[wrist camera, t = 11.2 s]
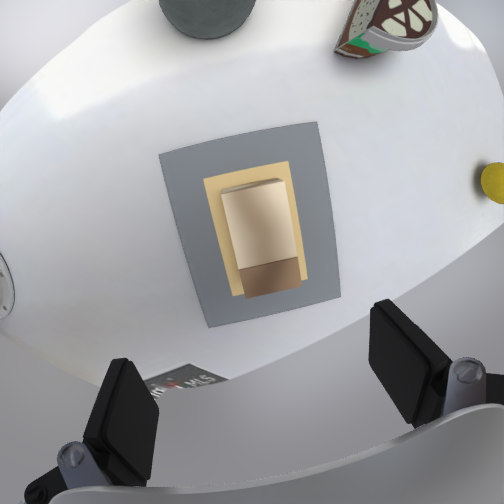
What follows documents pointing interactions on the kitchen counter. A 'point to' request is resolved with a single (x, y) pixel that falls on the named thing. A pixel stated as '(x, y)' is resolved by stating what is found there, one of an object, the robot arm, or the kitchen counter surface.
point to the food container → (386, 26)
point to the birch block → (262, 236)
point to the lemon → (493, 182)
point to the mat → (216, 226)
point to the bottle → (206, 16)
